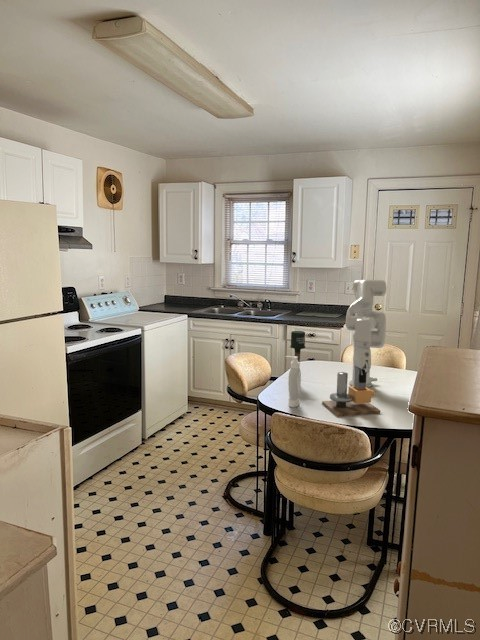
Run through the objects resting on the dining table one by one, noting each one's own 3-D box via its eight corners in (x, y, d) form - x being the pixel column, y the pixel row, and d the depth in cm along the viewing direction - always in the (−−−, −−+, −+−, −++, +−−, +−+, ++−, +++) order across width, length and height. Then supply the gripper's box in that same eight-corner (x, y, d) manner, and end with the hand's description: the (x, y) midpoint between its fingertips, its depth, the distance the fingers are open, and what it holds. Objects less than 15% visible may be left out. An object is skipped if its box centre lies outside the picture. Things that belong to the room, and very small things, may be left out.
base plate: (362, 401, 242) (362, 398, 242) (380, 413, 225) (380, 410, 224) (322, 404, 237) (322, 401, 237) (337, 416, 220) (337, 413, 219)
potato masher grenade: (294, 386, 267) (296, 333, 262) (286, 382, 274) (287, 331, 270) (307, 384, 271) (308, 332, 266) (298, 380, 278) (300, 330, 273)
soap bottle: (287, 399, 244) (288, 353, 240) (302, 401, 241) (303, 354, 237) (280, 407, 232) (281, 358, 228) (295, 409, 229) (297, 360, 225)
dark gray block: (361, 386, 232) (362, 366, 231) (365, 388, 228) (366, 368, 227) (354, 386, 231) (355, 366, 230) (358, 388, 228) (359, 368, 226)
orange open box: (369, 396, 237) (369, 385, 236) (377, 401, 229) (378, 389, 228) (348, 398, 234) (348, 386, 233) (355, 403, 226) (356, 391, 225)
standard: (346, 402, 236) (348, 369, 233) (356, 409, 225) (358, 375, 223) (325, 403, 233) (327, 370, 231) (335, 411, 223) (336, 377, 220)
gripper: (378, 347, 220) (376, 385, 222) (361, 340, 236) (359, 376, 238) (363, 348, 218) (361, 386, 221) (347, 341, 234) (345, 377, 237)
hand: (360, 380), depth 229 cm, fingers closed on dark gray block, 4 cm apart
